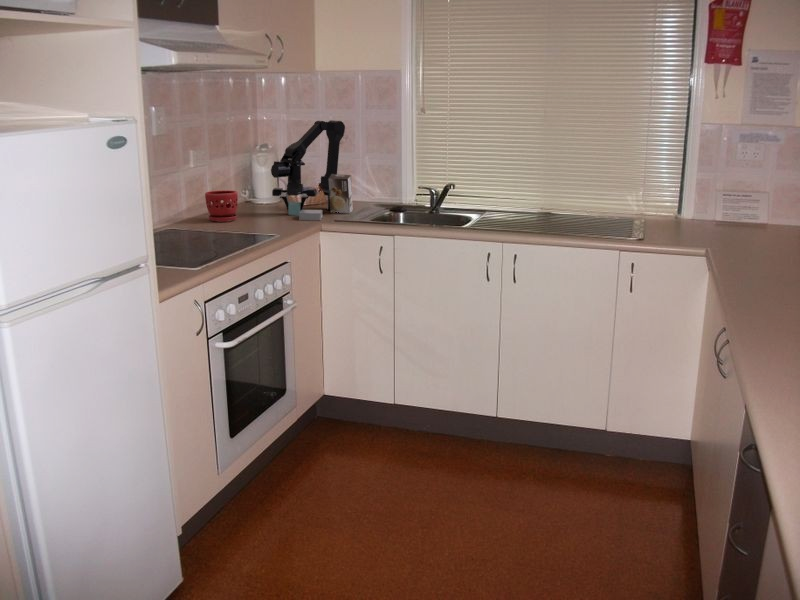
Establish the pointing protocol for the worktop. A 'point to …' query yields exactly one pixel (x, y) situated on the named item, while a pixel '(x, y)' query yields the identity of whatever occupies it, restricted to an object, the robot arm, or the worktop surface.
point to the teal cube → (294, 208)
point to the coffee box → (340, 193)
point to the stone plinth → (310, 215)
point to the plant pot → (222, 205)
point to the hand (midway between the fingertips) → (294, 211)
